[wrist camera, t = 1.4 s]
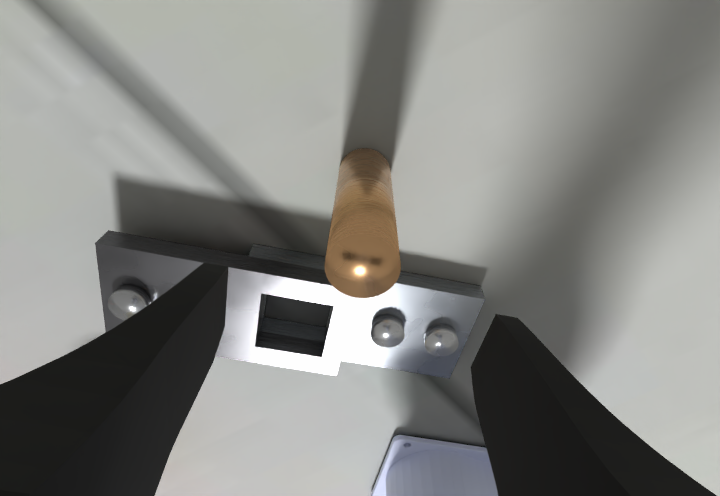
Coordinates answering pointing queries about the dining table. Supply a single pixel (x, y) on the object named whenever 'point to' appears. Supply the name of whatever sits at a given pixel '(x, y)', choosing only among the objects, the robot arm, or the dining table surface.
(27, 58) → the dining table surface
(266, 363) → the chain joint
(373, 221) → the copper pin
